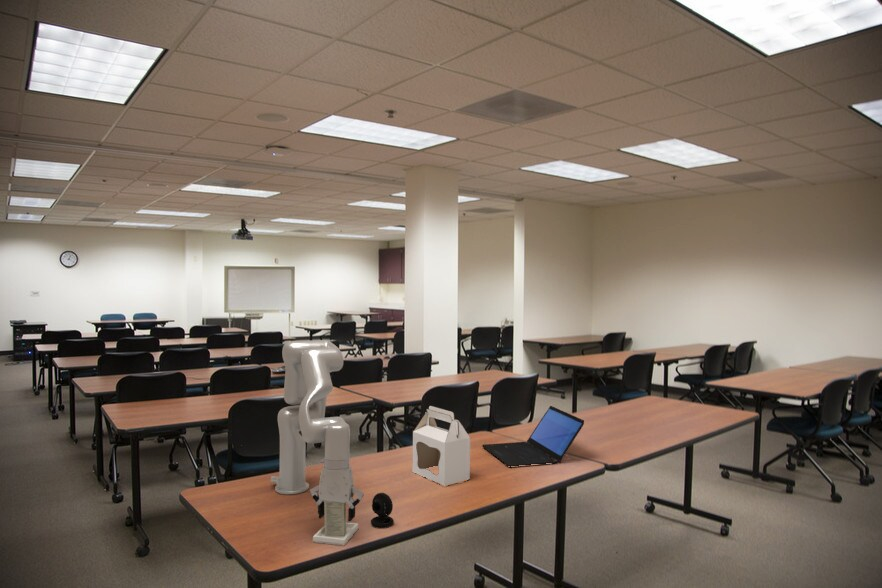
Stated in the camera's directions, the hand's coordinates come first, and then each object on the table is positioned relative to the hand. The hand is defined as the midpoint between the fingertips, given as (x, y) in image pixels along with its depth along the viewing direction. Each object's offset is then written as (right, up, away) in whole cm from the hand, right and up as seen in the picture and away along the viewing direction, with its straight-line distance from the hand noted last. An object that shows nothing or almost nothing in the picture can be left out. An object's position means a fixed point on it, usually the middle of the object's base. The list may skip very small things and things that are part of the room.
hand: (336, 518), depth 172 cm
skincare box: (0, -5, 0) cm, 5 cm away
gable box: (+32, -6, +56) cm, 65 cm away
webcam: (+13, -6, +9) cm, 17 cm away
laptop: (+75, -7, +89) cm, 117 cm away
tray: (0, -5, 0) cm, 5 cm away
